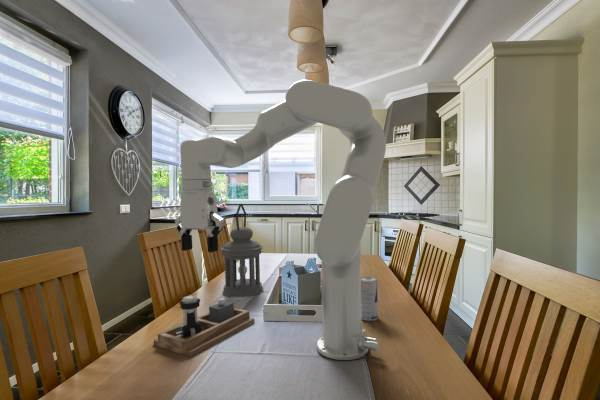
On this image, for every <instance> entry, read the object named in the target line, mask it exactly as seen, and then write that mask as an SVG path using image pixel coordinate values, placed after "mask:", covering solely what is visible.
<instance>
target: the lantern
mask: <svg viewBox="0 0 600 400" xmlns="http://www.w3.org/2000/svg"><path fill="white" fill-rule="evenodd" d="M241 209H242V212H243V227H242V226H241V227H240V226H239V225H240V223H239V213H240V210H241ZM235 223H236V227H235V228H233V229H232V230H230V234H229V235H230V238H231V239H232V241H227V243H225V244H224V245H223V246H221V248H220V251H221V255H222V256H224V278H225V280H224V281H225V284H224V285H223V289H222V295H223V296H225V297H228V298H247V297H248V298H249V297H254V296H257V295H259V294H263V292H264V286H263V283H262V282H261V276H260V275H261V274H260V272H261V270H260V255H261V254H262V249H263V245H261V244H260V242H258V241H256V240H252V238H253V236H254V234H253V233H254V232H253V230H252V229H251V228H249V227H246V226H247V225H246V223H247V212H246V209H245V207H244V205H243V204H242V203H239V204H238V207H237V210H236V214H235ZM237 260H238V261H239V266H238V267H237ZM246 260H248V265H249V267H247V266H246ZM237 268H238V269H237ZM248 268H249V269H248ZM248 270H249V278H246V274H247V272H248ZM237 271H238V272H237ZM237 273H239V279H237V278H238V276H237V275H238V274H237Z"/></svg>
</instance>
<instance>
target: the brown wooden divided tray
mask: <svg viewBox="0 0 600 400" xmlns="http://www.w3.org/2000/svg"><path fill="white" fill-rule="evenodd" d="M197 320H198V323H200V324H201V332H200V333H198V334H195V335H193V336H188V337H185V338H184V337H183V336H180V337H176V336H178V335H181V333H178V334H176V333H177V332H179V331H181V326H183V323H184V322H182V323H180V324H178V325H176V326H174V327H171V328H169V329H166V330H164V331H161V332H159V333H157V338H156V339H154V340H153V345H154V346H156V347H159V348H163V349H165V350H169V351H170V352H173V353H178V354H180V355H183V356H186V357H189V358H192V357H194V356H196V355H197V354H199V353H201V352H203V351H205V350H207V349H208V348H211V347H212V346H214V345H215V344H216V345H217V344H218V343H220V342H221V341H223V340H225V339H227V338H229V337H230V336H232V335H234V334H236V333H238V332H239V331H241V330H243V329H246V328H247V327H249V326H251V325H253V324H255V318H253V317H251V316H250V310H245V309H240V308H235V307H234V317H232V318H230V319H227V320H225V321H223V322H221V323H216V322H211V321H209V311H208V312H207V313H204V314H202V315H200V316H197Z"/></svg>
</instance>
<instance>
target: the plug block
mask: <svg viewBox="0 0 600 400" xmlns="http://www.w3.org/2000/svg"><path fill="white" fill-rule="evenodd" d="M234 308H235V303H234V302H231V301H227V300H225V298H219V299H217V303H215V304H212V305H210V306H209V307H208V312H209V321H211V322H216V323H221V322H223V321H225V320H227V319H230V318H232V317H234Z"/></svg>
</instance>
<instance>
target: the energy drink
mask: <svg viewBox="0 0 600 400" xmlns="http://www.w3.org/2000/svg"><path fill="white" fill-rule="evenodd" d="M378 295H379V294H378V280H377V277H376V278H375V277H374V276H373V277H372V276H363V277H362V276H361V321H365V322H375V321H377V320H378V318H379V305H378V304H379V300H378V299H379V298H378Z"/></svg>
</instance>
